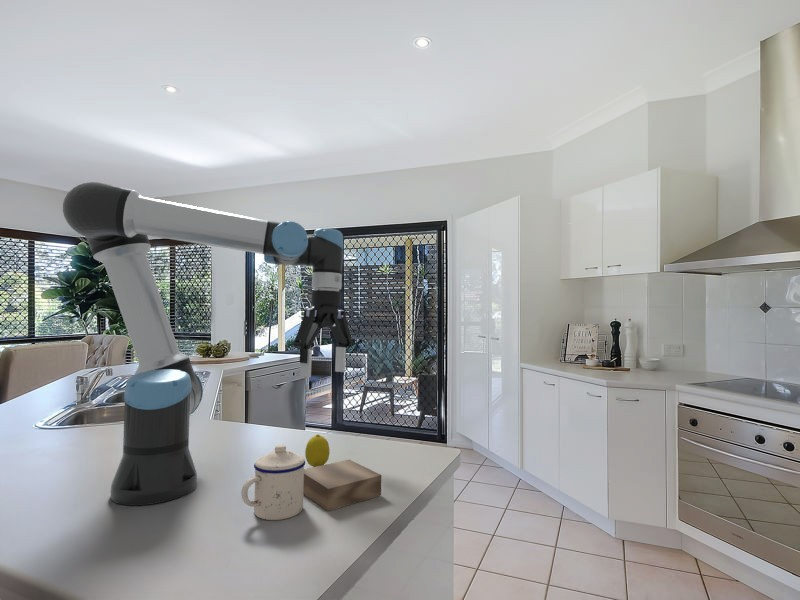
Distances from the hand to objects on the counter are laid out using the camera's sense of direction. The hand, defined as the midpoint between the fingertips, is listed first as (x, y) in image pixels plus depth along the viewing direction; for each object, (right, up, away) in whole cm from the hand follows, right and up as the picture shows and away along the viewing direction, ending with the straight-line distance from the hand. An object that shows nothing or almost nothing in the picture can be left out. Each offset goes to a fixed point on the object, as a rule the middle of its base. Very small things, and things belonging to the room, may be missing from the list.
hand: (323, 374), depth 113 cm
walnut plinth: (+7, -20, -23) cm, 31 cm away
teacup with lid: (-4, -20, -33) cm, 38 cm away
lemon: (0, -21, -9) cm, 23 cm away
